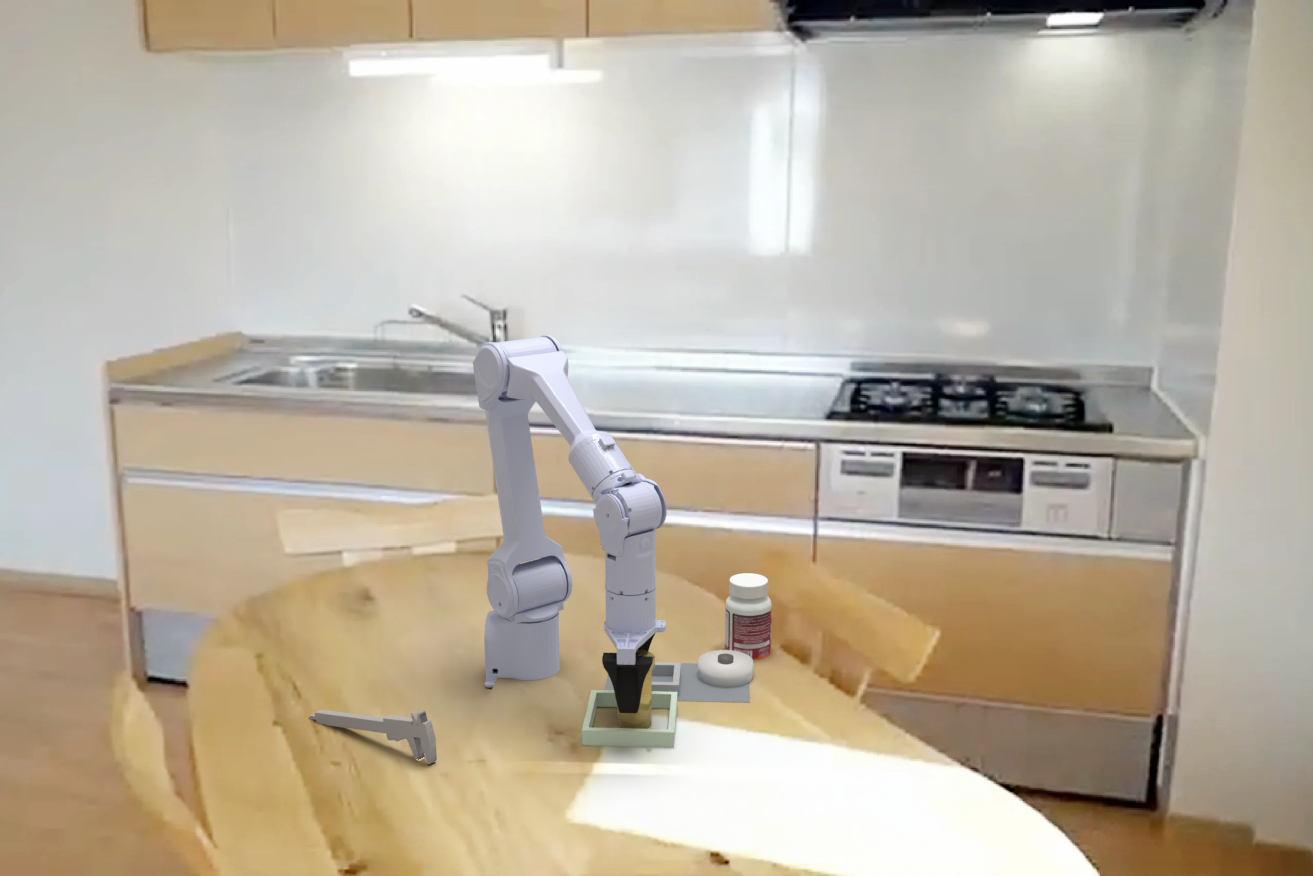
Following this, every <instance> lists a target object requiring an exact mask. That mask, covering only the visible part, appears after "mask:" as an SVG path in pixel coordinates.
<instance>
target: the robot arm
mask: <svg viewBox="0 0 1313 876" xmlns="http://www.w3.org/2000/svg"><path fill="white" fill-rule="evenodd" d="M564 351H565V350H564V349H563V347H562V345H561V343H560V342H559V340H558V339H557V338H555V337H554V336H553V335H548V334H544V335H541V336H538V337H531V338H523V339H514V340H506V341H505V340H504V341H498V342H497V341H496V342H494V341H489V342H484V343H483V344H482V345H481V346H480V348H479V350H478V351H477V354H476V355H475V357H474V360H473V361H472V366H473V367H472V368H473V373H474V381H475V388H476V395H477V400H478V407H479V408H480V409H481V410H483V411H484V412H485V413H484V414H485V418H486V426H487V433H488V439H489V445H490V446H489V447H490V453H491V460H492V468H493V474H494V479H495V487H496V493H497V500H498V506H499V514H500V521H501V522H500V523H501V528H502V533H503V540H502V542H501V543H500V544H499V546H498V547H497V548H496V549H495V550H494V552H492V554H491V555H490V556H489V557H488V558H487V560H486V564H487V581H486V595H487V598H488V599H487V600H488V602H489V605H490V606H491V608H492V610H489V611H488V612H487V615H486V618H485V623H484V634H483V635H484V644H483V645H484V664H485V665H484V667H485V682H484V687H486V688H489V689H490V688H492V689H493V688H494V686H495V683H496V682H497V679H499V678H501V679H502V678H503V679H514V680H521V681H540V680H542V679H547V678H551V677H552V676H554V675H556V674H558V672H559V671H560V669H561V664H560V663H561V658H560V652H561V651H560V616H559V615H560V612H561V611H563V610H564V609H565V608H564V602H566V601H568V599H569V598H570V597H571V594H572V590H573V585H574V584H573V577H572V576H573V575H572V572H571V569H570V567H569V566H568V563H567V560H566V557H565V553H564V548H563V547H564V546H562V545H561V544H559V543H558V542H556V541H555V540H553V539H551V538H550V537H548V536H547V535H546V532H545V525H544V518H543V510H542V505H541V497H540V492H539V491H540V490H539V483H538V476H537V469H536V463H535V455H534V449H533V441H532V435H531V428H530V422H529V421H530V420H529V412H530V411H531V409H532V408H533V406H534V405H535V404H536V403H537V404H538V405H539V407H540V408H541V410H542V411H543V412H544V413H545V415H546V416H547V418H548V419H549V420H550V422H552V423H553V425H554V427H556V429H557V430H558V432H559V433H560V434H561V436H562V437H563V438H564V440H565V441H566V442H567V444H568V445H569V446H570V448H569V451H568V452H569V453H568V456H567V457H568V459H567V460H568V462H569V464H570V466H571V467H572V469H573V471H574V472H575V473H576V475H577V477H578V478H579V480H580V482H581V483H582V485H583V486H584V488H585V489H586V491H587V492H588V495H589V496H590V497H591V498H592V500H593V502H594V503H595V507H594V508H593V509H592V512H593V519H594V523H595V526H596V527H597V530H598V533H599V543H600V544H599V545H600V546H601V550H602V551H604V561H605V562H604V569H605V571H604V573H605V575H604V576H605V577H604V578H605V579H604V580H605V583H604V584H605V585H604V587H605V590H604V591H605V620H604V622H603V630H604V633H606V635H607V637H608V638H609V640H610V641H611V643H612V644H613V646H614V647H615V649H616V652H603V654H602V658H601V661H602V663H601V664H602V666H603V668H604V670H605V671H606V673H607V676H608V675H609V677H610V679H611V682H612V685H613V688H614V693H615V697H616V702H617V706H618V709H619V712H620V713H637V712H638V709H639V706H640V700H641V694H642V688H643V683H644V680H645V677H646V675H647V673H648V671H649V669H650V667H651V665H652V663H653V657H649V656H638V653H636V650H637V649H639V650H645V651H648V652H650V651H649V650H650V648H651V647H650V646H651V645H652V641H653V639H654V637H655V635H656V634H657V633H664V632H666V627H667V622H666V620H663V619H661V620H660V619H657V618H656V614H657V613H656V601H657V600H656V596H657V595H656V592H657V591H656V585H657V583H656V582H657V581H656V577H657V576H656V574H657V571H656V567H657V566H656V563H657V561H656V557H657V556H656V554H657V553H656V549H657V547H656V545H657V544H656V543H657V542H656V540H657V539H656V533H657V532H656V530H658V529H661V527H662V526H663V525H664V524H665V521H666V519H667V513H668V512H667V501H666V499H665V495H664V493H663V492H662V490H661V487H660V486H659V484H658V483H657V482H656V481H654V480H652V479H650V478H646V477H645V475H643V473H642V474H641V473H636V471H635V469H634V468H633V466H632V465H631V463H630V462H629V460H628V459H627V457H626V455H624V453H623V451H622V450H621V449H620V447H619V446H618V444H617V442H616V441H615V439H614V438H613V437H612V435H611V434H610V433H609V432H606V431H600V430H596V428H595V425H594V424H593V422H592V420H591V419H590V417H589V414H588V413H587V411H586V409H585V408H584V406H583V404H582V402H581V400H580V398H579V396H578V395H577V392H576V391H575V389H574V387H573V385H572V384H571V382H570V379H569V378H568V376H569V358H568V356H567V354H566V353H565V352H564Z"/></svg>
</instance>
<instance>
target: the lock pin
mask: <svg viewBox="0 0 1313 876" xmlns="http://www.w3.org/2000/svg"><path fill="white" fill-rule="evenodd" d="M636 653H638V656H649V657H653V663H652V665H651V667H650V669H649V671H648V673H647V675H646V677H645V680H644V683H643V688H642V694H641V700H640V706H639V709H638V712H637V713H620V712H619V709H618V706H617V707H616V708H617V710H616V711H617V712H616V713H617V717H616V718H617V726H618V727H617V728H631V729H651V726H652V723H653V722H652V721H653V719H652V717H653V715H652V711H653V708H652V670H653V669H654V668H655V662H656V656H655V654H653V653H652V652H650V651H645V650H639V649H637V650H636Z"/></svg>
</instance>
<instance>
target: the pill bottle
mask: <svg viewBox="0 0 1313 876" xmlns="http://www.w3.org/2000/svg"><path fill="white" fill-rule="evenodd" d="M728 592H729V594H730V595H729V596H728V597H727V598H726V599H725V610H724V611H725V612H724V614H725V618H724V621H725V622H724V650H733V651H738V652H742V653H745V654H747V655H748V656H750V657H751V658H752V660H753V661H759V660H760V661H761V660H763V659H766V658H767V657H769V656H770V655H771V654H772V627H773V626H772V624H773V623H772V618H773V616H772V615H773V605H772V604H773V603H772V600H771V599H770V597H769V596H768V593H769V579H768V578H767V577H766V576H765V575H762V574H758V573H752V572H751V573H750V572H747V573H738V574H734V575H732V576H731V577H730V578H729V584H728Z"/></svg>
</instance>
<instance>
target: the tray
mask: <svg viewBox="0 0 1313 876" xmlns="http://www.w3.org/2000/svg"><path fill="white" fill-rule="evenodd" d="M600 707H601V708H617V702H616V697H615V693H614V690H605V689H591V691H590V694H589V699H588V702H587V708H586V710H585V715H584V719H583V722H582V727H581V728H582V729H581V745H582V746H597V747H598V746H599V747H600V746H601V747H602V746H603V747H641V748H642V747H643V748H673V749H674V747H675V740H676V739H675V737H676V725H677V716H678V714H677V712H678V701H677V692H662V691H652V709H669V714H668V715H669V717H668V726H667V727H668V728H666V729H664V728H663V729H661V728H659V729H658V728H648V729H631V728H619V727H593V726H594V721H595V717H596V712H597V708H600Z"/></svg>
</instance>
